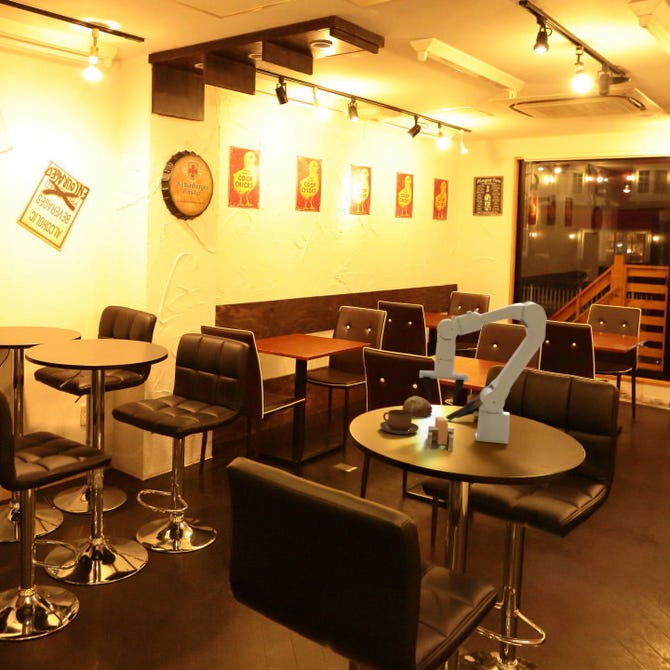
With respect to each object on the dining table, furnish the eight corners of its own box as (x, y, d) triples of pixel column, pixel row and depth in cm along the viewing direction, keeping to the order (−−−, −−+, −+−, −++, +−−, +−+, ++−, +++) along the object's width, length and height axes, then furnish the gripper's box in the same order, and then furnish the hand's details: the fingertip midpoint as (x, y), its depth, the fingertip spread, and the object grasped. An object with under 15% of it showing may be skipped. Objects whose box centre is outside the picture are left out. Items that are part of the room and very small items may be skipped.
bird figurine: (449, 422, 235) (484, 372, 234) (441, 415, 245) (475, 367, 244) (481, 444, 237) (516, 394, 236) (472, 436, 247) (506, 388, 246)
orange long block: (442, 437, 215) (443, 417, 214) (446, 444, 207) (448, 424, 206) (434, 436, 215) (435, 417, 214) (438, 444, 207) (439, 423, 206)
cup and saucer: (375, 433, 221) (376, 414, 220) (385, 424, 232) (386, 406, 231) (413, 439, 217) (415, 419, 216) (421, 429, 228) (423, 410, 227)
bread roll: (407, 420, 254) (398, 399, 253) (434, 410, 252) (426, 389, 251) (406, 427, 244) (397, 405, 243) (434, 416, 242) (425, 394, 242)
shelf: (452, 439, 217) (454, 422, 217) (452, 451, 206) (454, 432, 205) (428, 437, 219) (429, 420, 218) (426, 448, 207) (427, 430, 206)
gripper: (468, 358, 221) (464, 401, 223) (421, 354, 223) (417, 397, 225) (469, 362, 214) (465, 406, 216) (420, 358, 216) (417, 402, 218)
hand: (441, 402), depth 220 cm, fingers open, 7 cm apart
